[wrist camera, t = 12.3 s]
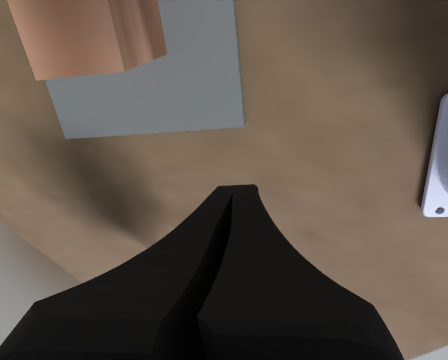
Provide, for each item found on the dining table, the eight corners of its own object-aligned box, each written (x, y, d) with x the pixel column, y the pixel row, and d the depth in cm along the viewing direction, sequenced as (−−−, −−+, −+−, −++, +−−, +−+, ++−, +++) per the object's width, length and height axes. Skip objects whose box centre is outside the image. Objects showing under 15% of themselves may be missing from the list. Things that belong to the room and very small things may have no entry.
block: (148, -53, 16) (87, -86, 11) (167, 54, 18) (124, 71, 13) (74, -41, 17) (-17, -65, 11) (101, 61, 19) (36, 80, 14)
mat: (218, -188, 14) (215, -199, 13) (245, 122, 20) (244, 126, 20) (-19, -132, 16) (-32, -139, 15) (72, 135, 22) (65, 139, 22)
